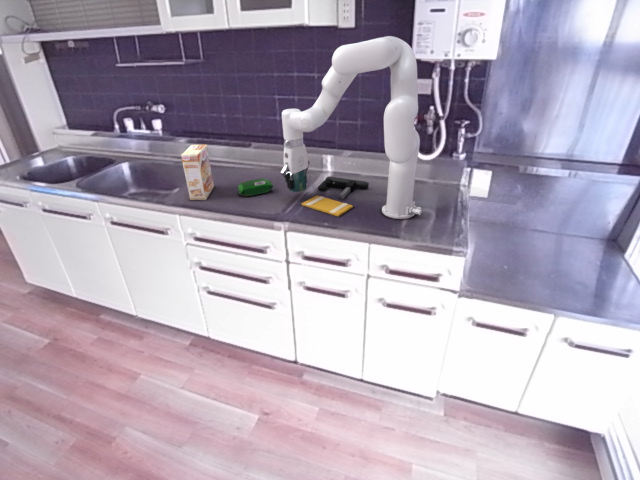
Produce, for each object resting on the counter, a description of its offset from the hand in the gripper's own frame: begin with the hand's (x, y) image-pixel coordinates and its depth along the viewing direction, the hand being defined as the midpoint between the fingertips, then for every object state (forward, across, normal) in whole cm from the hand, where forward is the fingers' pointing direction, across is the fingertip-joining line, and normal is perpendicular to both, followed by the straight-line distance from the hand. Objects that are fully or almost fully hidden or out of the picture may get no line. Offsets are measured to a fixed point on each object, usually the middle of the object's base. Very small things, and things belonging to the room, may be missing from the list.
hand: (297, 185), depth 154 cm
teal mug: (+2, 0, +1) cm, 2 cm away
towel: (+6, 0, -15) cm, 16 cm away
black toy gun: (+6, +17, -10) cm, 21 cm away
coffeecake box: (+5, -20, +38) cm, 43 cm away
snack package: (+5, -6, +19) cm, 20 cm away
